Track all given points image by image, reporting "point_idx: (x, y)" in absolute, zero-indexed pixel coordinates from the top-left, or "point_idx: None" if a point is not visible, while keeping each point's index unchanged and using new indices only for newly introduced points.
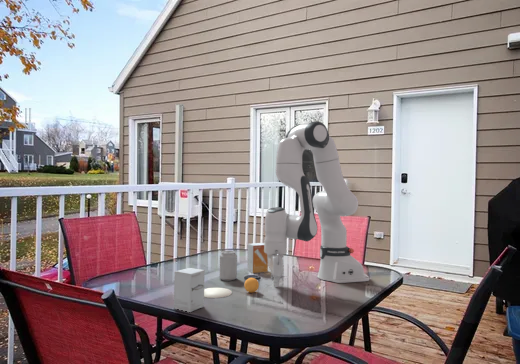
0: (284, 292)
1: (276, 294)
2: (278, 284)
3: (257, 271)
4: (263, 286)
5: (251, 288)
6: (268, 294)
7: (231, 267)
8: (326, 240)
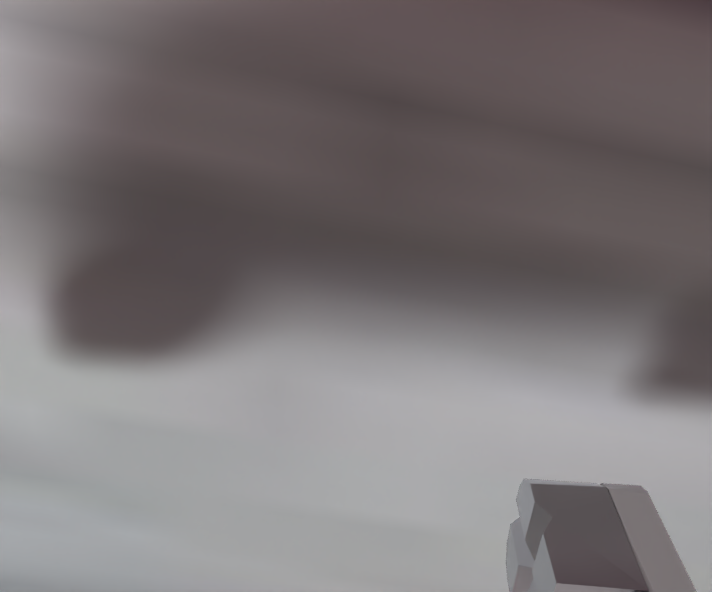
0: (600, 230)
1: (702, 428)
2: (666, 532)
3: None
4: (78, 540)
5: None
6: None
7: None
8: None
